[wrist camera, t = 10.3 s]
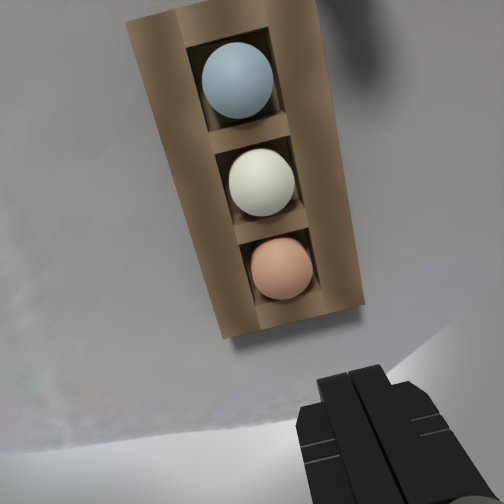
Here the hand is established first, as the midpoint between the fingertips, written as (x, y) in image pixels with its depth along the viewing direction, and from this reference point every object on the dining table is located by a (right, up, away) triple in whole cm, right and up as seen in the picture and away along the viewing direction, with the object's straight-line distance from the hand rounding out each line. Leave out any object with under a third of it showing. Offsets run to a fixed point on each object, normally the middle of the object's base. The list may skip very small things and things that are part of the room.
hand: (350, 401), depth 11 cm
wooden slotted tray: (-2, +10, +25) cm, 27 cm away
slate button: (-4, +16, +21) cm, 27 cm away
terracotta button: (0, +3, +26) cm, 27 cm away
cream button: (-2, +9, +24) cm, 26 cm away
